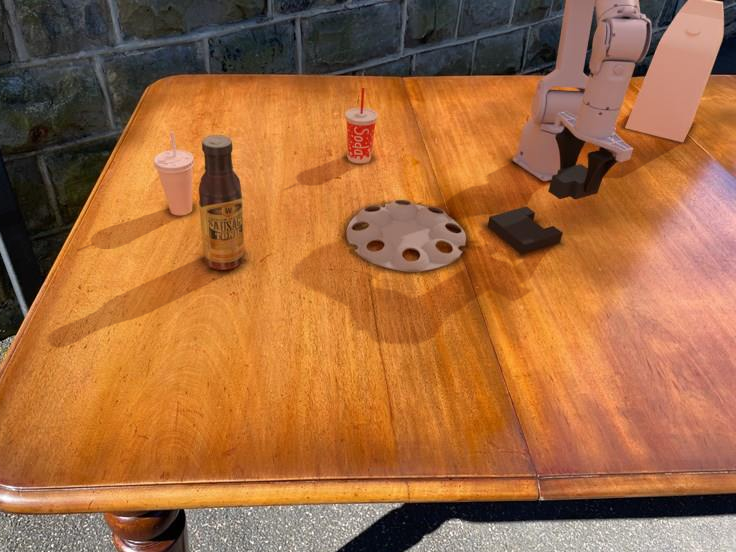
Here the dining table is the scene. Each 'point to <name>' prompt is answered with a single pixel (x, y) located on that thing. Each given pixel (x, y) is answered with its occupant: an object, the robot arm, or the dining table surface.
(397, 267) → the paint palette
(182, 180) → the smoothie
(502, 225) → the black pad
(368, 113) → the beverage cup
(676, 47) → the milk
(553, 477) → the dining table surface
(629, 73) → the robot arm
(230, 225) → the sauce bottle
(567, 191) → the black notched block
